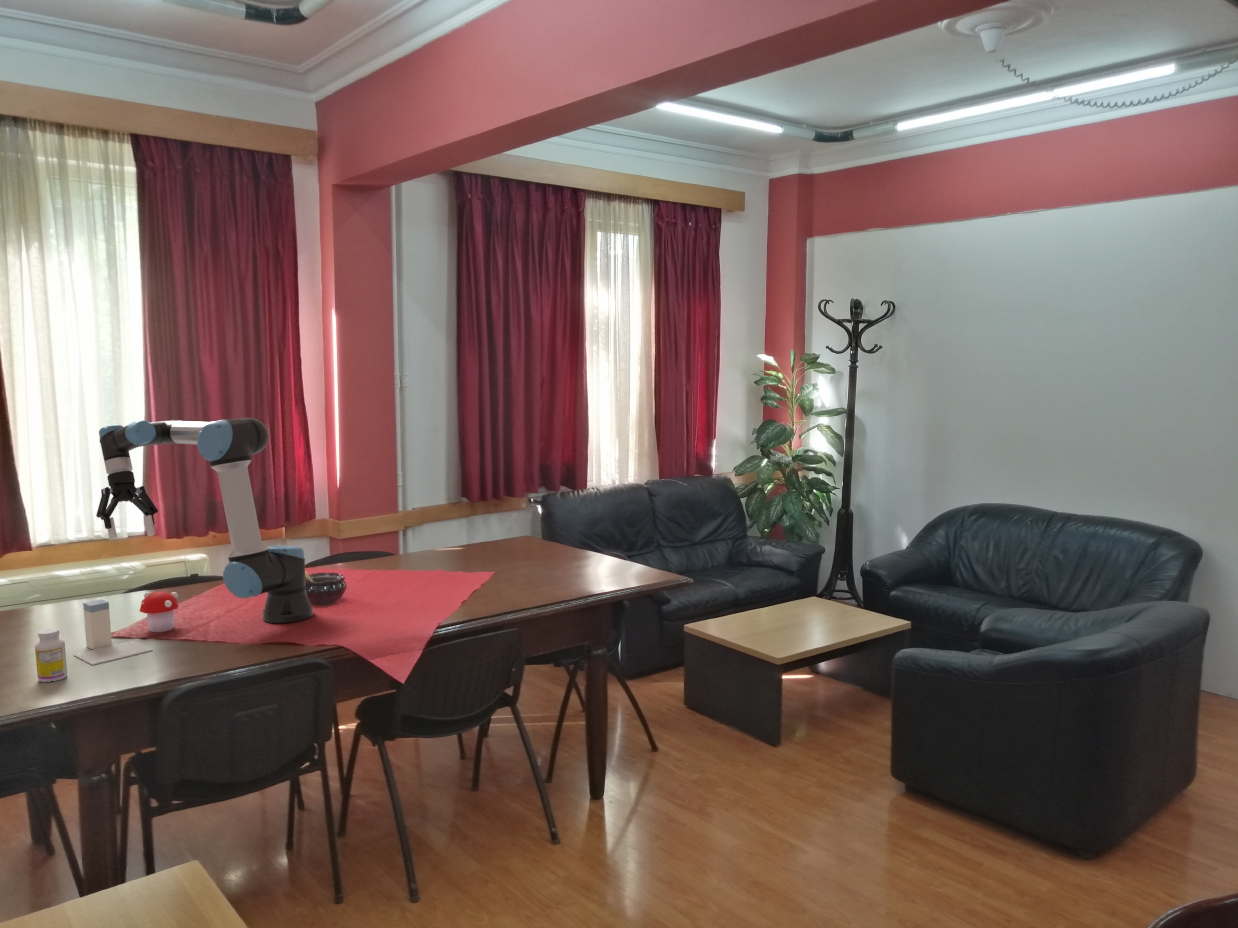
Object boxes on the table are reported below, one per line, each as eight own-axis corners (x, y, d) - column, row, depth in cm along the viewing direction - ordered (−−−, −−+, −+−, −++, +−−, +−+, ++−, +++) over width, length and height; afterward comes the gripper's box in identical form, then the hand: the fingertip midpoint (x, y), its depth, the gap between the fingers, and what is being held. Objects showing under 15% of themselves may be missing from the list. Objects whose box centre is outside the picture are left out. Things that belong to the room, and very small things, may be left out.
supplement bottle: (46, 674, 245) (42, 627, 244) (72, 673, 246) (68, 626, 244) (32, 683, 238) (28, 635, 237) (59, 682, 239) (55, 634, 237)
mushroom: (188, 625, 288) (186, 588, 287) (160, 635, 278) (158, 597, 276) (161, 622, 292) (159, 585, 290) (133, 632, 281) (130, 594, 280)
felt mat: (152, 650, 264) (152, 649, 264) (92, 665, 252) (91, 663, 252) (133, 641, 272) (133, 640, 272) (73, 655, 260) (73, 654, 260)
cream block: (111, 645, 269) (108, 602, 267) (93, 650, 265) (89, 605, 264) (104, 642, 272) (101, 599, 271) (86, 646, 268) (83, 602, 267)
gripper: (146, 475, 312) (158, 536, 309) (75, 476, 289) (88, 542, 287) (161, 469, 309) (174, 531, 306) (91, 470, 286) (104, 536, 284)
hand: (132, 536), depth 296 cm, fingers open, 13 cm apart
